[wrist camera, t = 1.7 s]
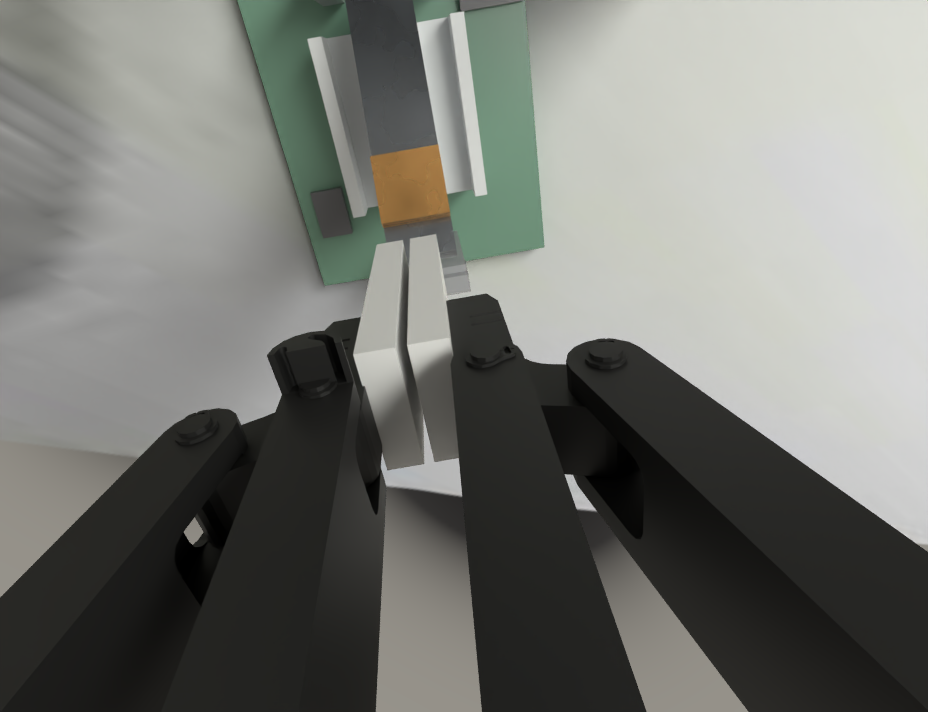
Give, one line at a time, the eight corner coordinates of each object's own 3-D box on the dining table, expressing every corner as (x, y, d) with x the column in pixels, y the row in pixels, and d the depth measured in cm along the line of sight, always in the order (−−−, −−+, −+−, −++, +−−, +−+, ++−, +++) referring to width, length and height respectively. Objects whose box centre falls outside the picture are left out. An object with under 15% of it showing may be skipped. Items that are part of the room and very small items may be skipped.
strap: (336, -35, 25) (325, -69, 23) (410, -48, 25) (405, -83, 23) (387, 268, 24) (380, 259, 22) (463, 255, 24) (462, 244, 22)
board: (225, -59, 29) (141, -115, 20) (511, -110, 28) (554, -188, 20) (327, 279, 38) (301, 342, 30) (540, 242, 38) (577, 294, 30)
